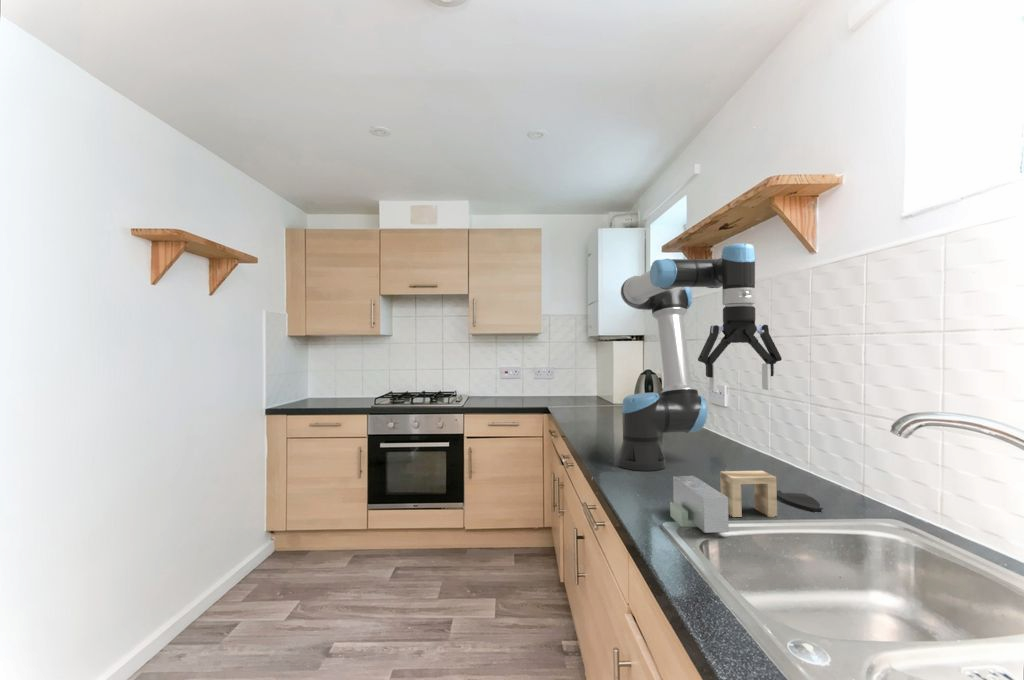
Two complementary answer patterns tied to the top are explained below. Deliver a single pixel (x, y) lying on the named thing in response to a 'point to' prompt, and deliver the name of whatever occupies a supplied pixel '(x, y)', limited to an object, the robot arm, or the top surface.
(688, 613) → the top surface
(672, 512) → the cradle
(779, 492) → the fan shaped piece
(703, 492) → the steel bar
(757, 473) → the block
